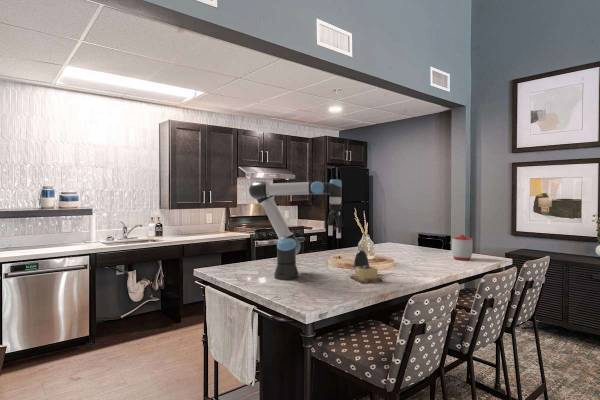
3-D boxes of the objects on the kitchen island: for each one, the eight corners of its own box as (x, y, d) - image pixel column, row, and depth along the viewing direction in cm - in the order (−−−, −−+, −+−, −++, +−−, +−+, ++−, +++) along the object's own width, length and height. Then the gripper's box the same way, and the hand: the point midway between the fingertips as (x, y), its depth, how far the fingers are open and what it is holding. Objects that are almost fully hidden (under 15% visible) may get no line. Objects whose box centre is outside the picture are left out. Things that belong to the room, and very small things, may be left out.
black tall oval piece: (351, 274, 235) (351, 250, 235) (356, 271, 244) (356, 248, 244) (366, 276, 230) (366, 251, 230) (371, 272, 239) (371, 249, 239)
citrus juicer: (455, 256, 302) (455, 232, 302) (476, 259, 288) (476, 234, 288) (445, 258, 292) (445, 233, 292) (467, 261, 279) (467, 235, 278)
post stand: (361, 283, 210) (361, 269, 210) (350, 278, 223) (350, 264, 223) (382, 281, 215) (382, 267, 215) (370, 276, 228) (370, 263, 228)
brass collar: (363, 279, 213) (363, 269, 213) (355, 276, 222) (355, 266, 222) (377, 278, 216) (377, 268, 216) (369, 275, 225) (369, 265, 225)
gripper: (349, 204, 223) (348, 239, 224) (333, 203, 247) (332, 234, 247) (337, 204, 221) (336, 239, 221) (322, 202, 245) (322, 234, 245)
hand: (334, 236), depth 234 cm, fingers open, 13 cm apart
